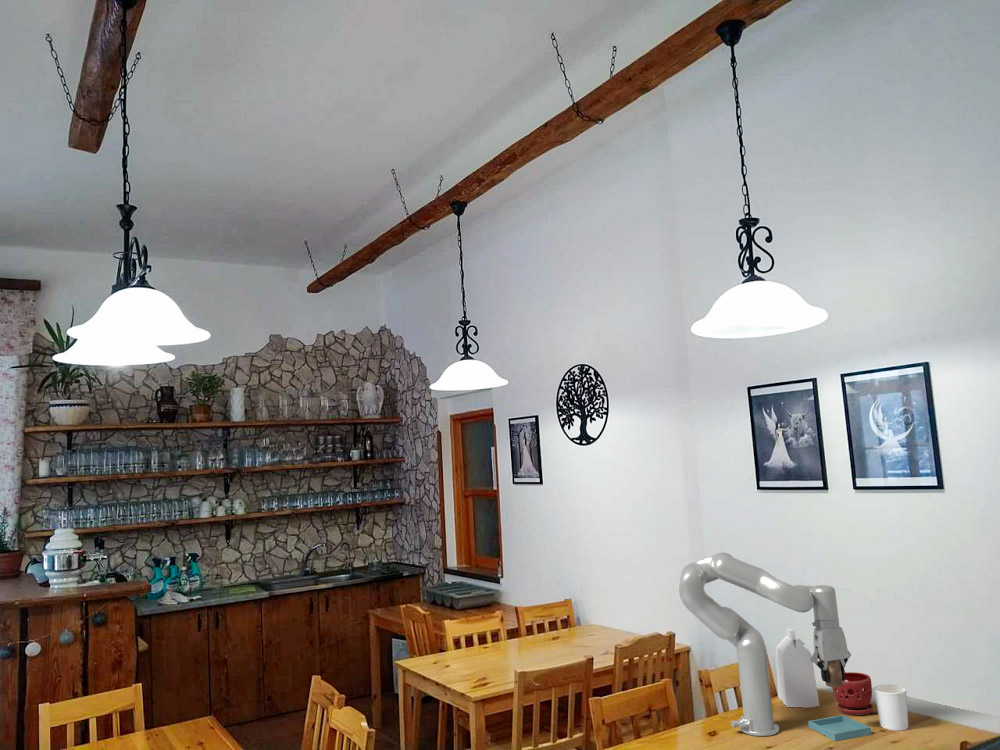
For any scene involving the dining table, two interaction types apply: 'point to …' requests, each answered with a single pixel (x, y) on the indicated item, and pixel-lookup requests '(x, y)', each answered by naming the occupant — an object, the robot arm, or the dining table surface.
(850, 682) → the plant pot
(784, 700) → the milk
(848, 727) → the tray
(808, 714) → the dining table surface
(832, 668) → the pepper mill
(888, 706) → the candle holder
